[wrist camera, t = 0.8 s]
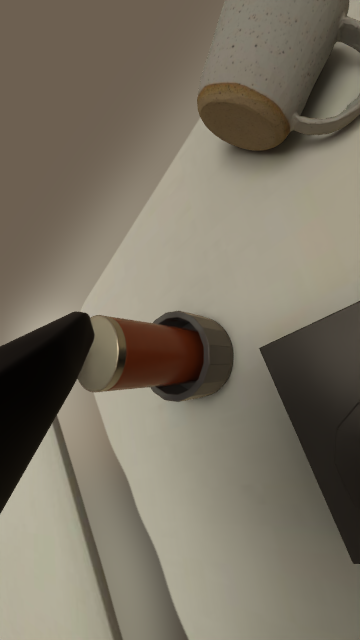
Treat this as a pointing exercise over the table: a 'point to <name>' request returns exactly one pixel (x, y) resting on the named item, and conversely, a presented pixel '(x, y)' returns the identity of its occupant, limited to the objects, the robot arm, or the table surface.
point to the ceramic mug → (272, 69)
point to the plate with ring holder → (326, 408)
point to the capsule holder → (215, 357)
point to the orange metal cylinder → (140, 355)
